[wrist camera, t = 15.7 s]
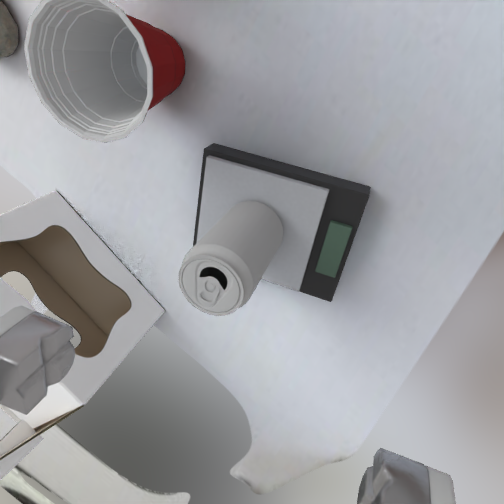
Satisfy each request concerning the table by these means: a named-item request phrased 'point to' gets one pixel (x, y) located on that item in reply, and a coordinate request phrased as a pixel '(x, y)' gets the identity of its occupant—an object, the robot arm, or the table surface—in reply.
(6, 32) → the long grey stone
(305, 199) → the kitchen scale
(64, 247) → the gable box
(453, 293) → the table surface
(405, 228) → the table surface
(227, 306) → the beverage can
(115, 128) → the plastic cup
